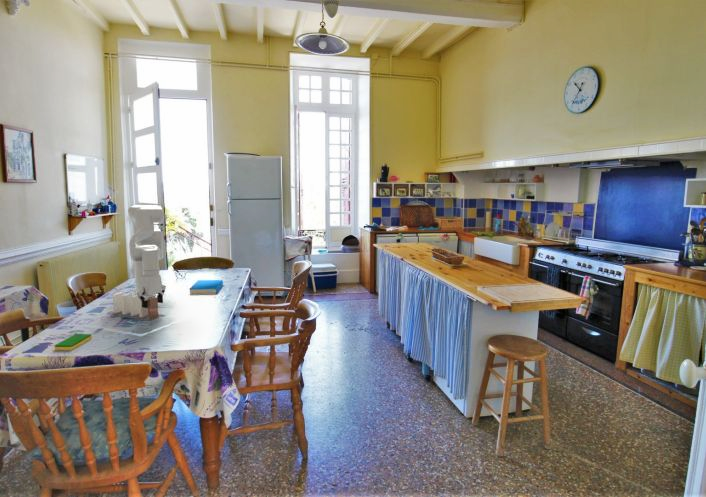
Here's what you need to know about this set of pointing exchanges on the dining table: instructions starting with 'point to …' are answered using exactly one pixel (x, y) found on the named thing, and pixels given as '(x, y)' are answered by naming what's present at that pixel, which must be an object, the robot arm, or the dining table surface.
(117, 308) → the domino
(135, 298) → the domino
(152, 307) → the domino
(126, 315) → the mat
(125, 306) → the domino
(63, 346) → the dish sponge
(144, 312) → the domino
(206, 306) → the dining table surface
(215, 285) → the book
